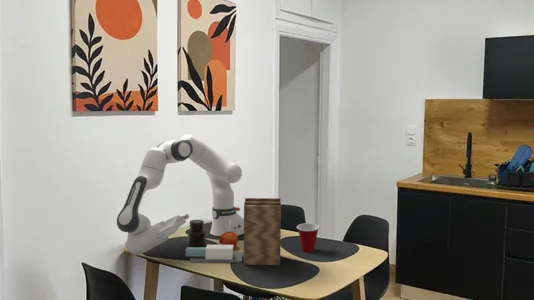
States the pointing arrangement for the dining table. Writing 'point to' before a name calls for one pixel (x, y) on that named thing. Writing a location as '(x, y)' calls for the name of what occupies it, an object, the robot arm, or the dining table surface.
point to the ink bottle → (196, 234)
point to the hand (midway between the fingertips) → (186, 218)
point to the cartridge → (212, 252)
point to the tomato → (229, 239)
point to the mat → (236, 259)
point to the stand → (262, 231)
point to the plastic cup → (308, 236)
